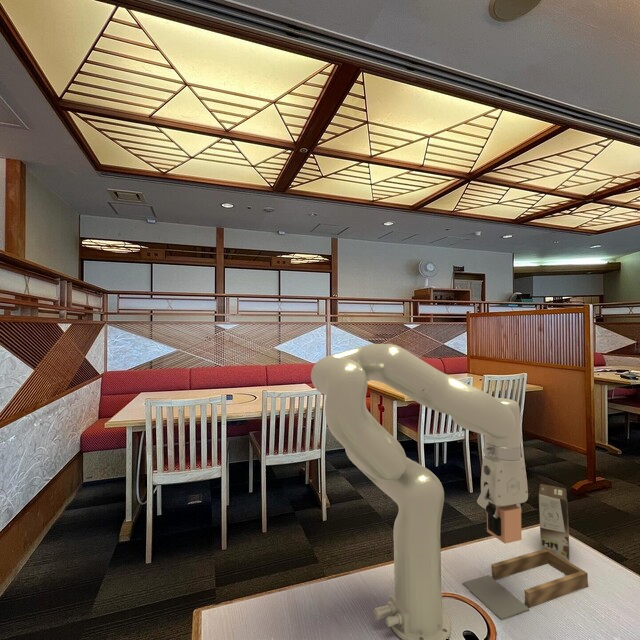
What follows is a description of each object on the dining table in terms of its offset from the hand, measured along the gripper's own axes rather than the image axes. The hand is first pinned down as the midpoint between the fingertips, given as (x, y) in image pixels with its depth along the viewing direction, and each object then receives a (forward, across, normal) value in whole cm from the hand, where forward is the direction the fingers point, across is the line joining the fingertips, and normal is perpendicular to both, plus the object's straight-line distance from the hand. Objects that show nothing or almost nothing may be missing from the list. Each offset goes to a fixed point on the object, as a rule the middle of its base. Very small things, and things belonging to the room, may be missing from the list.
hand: (503, 530), depth 77 cm
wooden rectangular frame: (+14, +10, 0) cm, 17 cm away
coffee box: (+13, +26, +7) cm, 30 cm away
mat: (+14, -3, 0) cm, 14 cm away
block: (+1, 0, 0) cm, 1 cm away
